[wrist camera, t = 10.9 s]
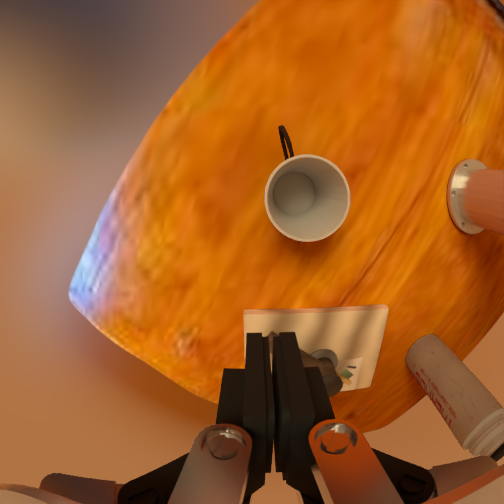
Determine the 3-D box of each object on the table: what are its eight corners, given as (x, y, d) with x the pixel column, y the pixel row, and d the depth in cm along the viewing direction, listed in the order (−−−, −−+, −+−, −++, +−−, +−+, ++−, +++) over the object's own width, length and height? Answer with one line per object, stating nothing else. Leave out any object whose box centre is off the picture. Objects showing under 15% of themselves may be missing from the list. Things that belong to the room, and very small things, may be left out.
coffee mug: (320, 229, 38) (342, 247, 28) (257, 220, 38) (258, 235, 28) (333, 145, 35) (359, 135, 25) (269, 133, 35) (274, 118, 25)
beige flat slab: (385, 304, 41) (390, 309, 39) (367, 381, 45) (370, 389, 43) (244, 309, 41) (243, 316, 39) (246, 390, 45) (245, 398, 43)
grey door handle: (357, 373, 41) (367, 394, 36) (341, 388, 42) (349, 409, 37) (275, 321, 39) (278, 342, 33) (259, 340, 39) (259, 362, 34)
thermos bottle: (402, 374, 44) (469, 483, 17) (408, 340, 43) (493, 452, 15) (435, 362, 44) (508, 456, 17) (442, 329, 42) (532, 422, 15)
